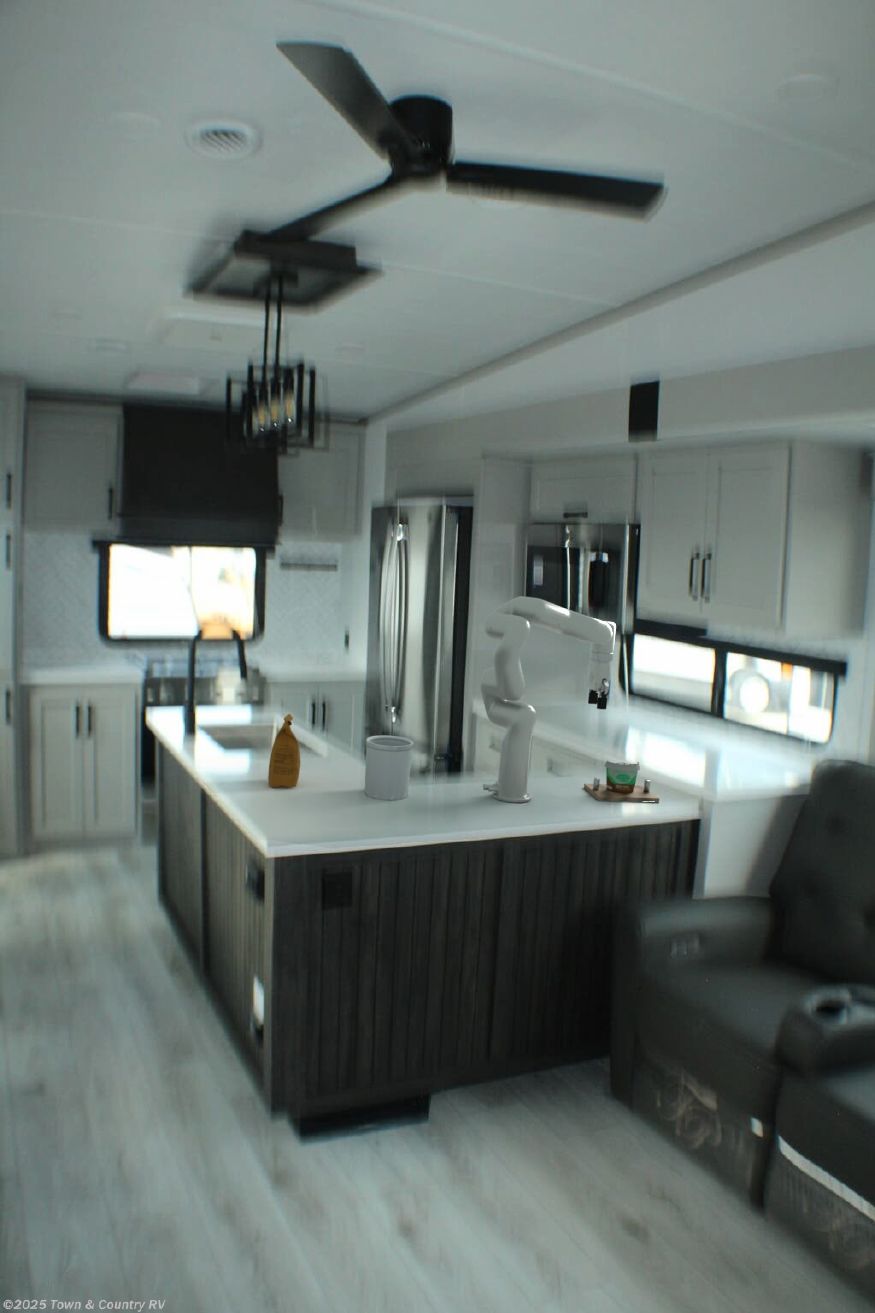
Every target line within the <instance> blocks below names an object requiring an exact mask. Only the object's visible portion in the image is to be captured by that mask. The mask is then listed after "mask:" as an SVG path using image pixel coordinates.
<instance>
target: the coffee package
mask: <svg viewBox="0 0 875 1313" xmlns="http://www.w3.org/2000/svg"><path fill="white" fill-rule="evenodd" d="M293 719H294V717H293V716H292V715H291V713H290V714H289V713H288V714H287V715H286V716H285V717H283V720H284V722H283V724H282V725H281V728H280V730H278V732H277V734H276V736H275V739H274V742H273V746H272V747H271V752H270V758H269V763H268V764H269V765H268V775H267V776H268V777H267V781H268V786H269V787H270V788H272V789H273V788H293V787H297V785H298V781H299V778H300V771H301V752H300V746H299V742H298V739H297V737H296V735H295V734H294V732H293V731H292V729H291V726H292V721H293Z"/></svg>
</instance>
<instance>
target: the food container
mask: <svg viewBox="0 0 875 1313" xmlns="http://www.w3.org/2000/svg"><path fill="white" fill-rule="evenodd" d="M604 767H605V768H606V769H605V770H606V771H605V772H606V774H605V775H606V776H605V778H606V782H605V783H606V789H607V790H608V791H611V792H615V793H622V794H629V793H633V792H634V787H635V786H636V781H637V778H638V777H637V776H638V773H639V772H638V771H640V770H641V765H640V762H639V761H637V762H636V763H627V762H611V761H609V760H606V762H605V763H604Z"/></svg>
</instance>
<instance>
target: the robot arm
mask: <svg viewBox="0 0 875 1313" xmlns="http://www.w3.org/2000/svg"><path fill="white" fill-rule="evenodd" d="M531 625H534V626H536V627H538V628H542V629H544V630H548V631H550V632H553V633H555V634H558V635H563V636H566V637H567V636H569V637H573V638H574V639H575V640H576V641H578V642H582V643H587V644H591V650H590V651H591V652H590V660H589V661H590V665H589V669H588V677H587V688H588V698H587V704H589V705H596V709H597V710H607V704H608V698H609V697H608V696H609V695H608V694H609V689H610V682H611V681H610V680H611V664H612V663H614V662H613V661H614V652H615V642H616V639H615V638H616V631H617V630H616V629H617V625H616V623H615V622H613V621H607V620H601V619H598V618H594V617H592V616H588V615H586V614H582V613H579V612H576V611H573V610H571V609H567V608H564V607H562V606H559V605H557V604H555V603H552V602H549V601H547V600H545V599H542V598H538V597H531V596H517V597H515V598H513V599H510V600H509V601H507V602H506V603H505V604H503V605H501V606H500V607H497V608H496V609H495V610H494V611H492V612H490V613H489V614H488V615H487V616H486V618H485V620H484V622H483V630H484V632H485V634H486V635H487V637H490V638H491V639H494V640H499V643H498V644H497V646H496V648H495V649H494V651H493V655H492V664H493V666H492V667H489V668H487V669H485V671H484V672H483V673H482V675H481V678H480V681H479V682H480V684H479V685H480V691H481V692H480V693H481V697H482V701H483V704H484V709H485V713H486V715H487V718H488V720H489V722H491V723H492V724H493V725H496V726H498V727H502V728H505V729H506V730H507V731H506V732H505V734H504V735H503V738H502V740H501V744H500V754H499V755H500V756H499V767H498V777H497V778H498V780H497V781H495V783H492V784H489V783H483V784H482V789H483V791H488V792H492V794H491V796H492V797H493V799H495V800H499V801H503V802H507V803H517V804H518V803H526V802H530V801H531V800H532V795H531V794H530V793H528V783H529V782H528V781H529V780H528V779H529V772H530V770H529V769H530V758H531V750H532V749H531V748H532V739H533V733H534V731H535V726H536V723H537V720H538V719H537V711H536V710H535V708H534V707H533V706H532V705H531V704H529V703H527V702H524V701H520V700H521V699H523V697H524V696H525V694H526V682H525V677H524V673H523V669H522V664H521V657H520V656H521V651H522V649H523V646H524V645H525V643H526V641H527V639H528V638H529V636H530V633H531Z"/></svg>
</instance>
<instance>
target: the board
mask: <svg viewBox="0 0 875 1313" xmlns="http://www.w3.org/2000/svg"><path fill="white" fill-rule="evenodd" d="M600 781H601V778H600V777H593V783H584V784H583V789H584V790H585V791H587V792H588V793H589V794H590V795H592V797H594V798H595V800H597V801H599V802H623V801H655V802H659V803H660V797H658V796H657V795H655V794H654V793H653V792H651V791H650V790H651V789H650V788H651V782H652V781H651V780H650V779H644V781H643V783H644V784H643V785H635V787H634V792H633V793H629V794H622V793H615V792H611V791H608V790H607V789H606V784H604V783H603V784H602V783H601V782H600Z"/></svg>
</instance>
